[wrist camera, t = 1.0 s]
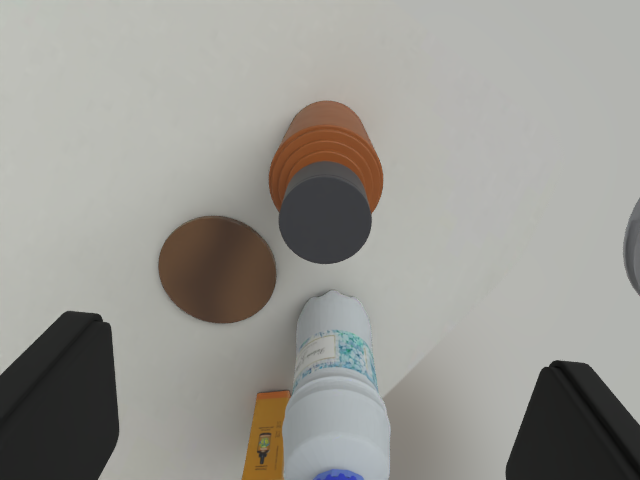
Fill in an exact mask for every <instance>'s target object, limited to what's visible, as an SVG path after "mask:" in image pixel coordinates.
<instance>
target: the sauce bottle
mask: <svg viewBox="0 0 640 480" xmlns="http://www.w3.org/2000/svg"><path fill="white" fill-rule="evenodd" d="M321 161H330V162H336V163H339V164H342V165H344V166H346V167H348V168H349V169H351V170H352V171H353V172H354V173H355V174H356V175H357V176H358V177H359V179H360V180H361V182H362V184H363V186H364V189H365V192H366V195H367V199H368V203H369V207H370V211H371V214H372V212H373V211H374V210H375V208H376V206H377V204H378V202H379V200H380V197H381V193H382V189H383V172H382V166H381V163H380V160H379V158H378V156H377V154H376V152H375V150H374V147H373V145H372V143H371V141H370V139H369V137H368V135H367V133H366V131H365V129H364V126H363V124H362V122H361V120H360V119H359V117H358V116H357V115H356V114H355V112H353V111H352V110H351V109H350V108H348V107H347V106H345V105H343V104H341V103H338V102H334V101H320V102H315V103H313V104H310V105H308V106H306V107H305V108H304V109H302V110H301V111H300V112H299V113H298V114H297V115H296V116H295V118H294V119H293V121H292V123H291V125H290V127H289V129H288V130H287V132H286V134H285V136H284V138H283V140H282V142H281V144H280V146H279V148H278V150H277V152H276V154H275V156H274V158H273V160H272V163H271V166H270V171H269V189H270V194H271V197H272V200H273V202H274V205H275V206H276V208H277V210H278V211H279V212H280V208H281V205H282V202H283V199H284V195H285V192H286V189H287V186H288V184H289V182H290V180H291V179H292V177H293V176H294V175H295V174H296V173H297V172H298V171H299V170H300V169H302V168H303V167H305V166H307V165H309V164H312V163H315V162H321Z"/></svg>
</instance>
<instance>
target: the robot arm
mask: <svg viewBox="0 0 640 480" xmlns="http://www.w3.org/2000/svg"><path fill="white" fill-rule="evenodd" d="M118 436H119V419H118V406H117V394H116V382H115V369H114V357H113V345H112V332H111V326H110V324H109V323H107V322H103V319H102V317H101V315H99V314H95V313H85V312H75V311H67V312H65V313H63V314H62V315H61V316H60V317H59V318H58V319H57V320H56V321H55V322H54V323H53V324H52V325H51V326H50V327H49V328H48V329H47V330H46V331H45V332H44V333H43V334H42V335H41V336H40V337H39V338H38V339H37V340H36V341H35V342H34V343H33V344H32V345H31V346H30V347H29V348H28V349H27V350H26V351H25V352H24V353H22V354H21V355H20V356H19V357H18V358H17V359H16V360H15V361H14V362H13V363H12V364H11V365H10V366H9V367H8V368H7V369H6V370H5V371H4V372H3V373H2V374H1V375H0V480H98V478H99V476H100V475H101V473H102V471H103V469H104V467H105V465H106V464H107V462H108V460H109V458H110V456H111V454H112V452H113V451H114V448H115V446H116V443H117V440H118ZM506 480H640V425H639V424H638V423H637V422H636V420H635V419H634V418H633V417H632V416H631V414H630V413H629V412H628V411H627V410H626V408H625V407H624V406H623V405H622V404H621V402H620V401H619V400H618V399H617V398H616V396H615V395H614V394H613V393H612V392H611V390H610V389H609V388H608V387H607V386H606V384H605V383H604V382H603V381H602V380H601V378H600V377H599V376H598V375H597V374H596V372H594V370H593V369H592V368H591V367H590V366H589V365H588V364H585V363H579V362H569V361H559V360H556V361H553V362H552V363H551V364H550V365H549V367H544V368H543V369H542V370H541V372H540V374H539V377H538V379H537V382H536V385H535V388H534V391H533V393H532V396H531V399H530V402H529V404H528V407H527V410H526V413H525V415H524V418H523V421H522V424H521V426H520V429H519V432H518V435H517V438H516V440H515V443H514V446H513V448H512V451H511V454H510V457H509V460H508V462H507V465H506Z"/></svg>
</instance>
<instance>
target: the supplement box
mask: <svg viewBox="0 0 640 480" xmlns="http://www.w3.org/2000/svg"><path fill="white" fill-rule="evenodd" d="M290 398H291V396H290V392H289V391H288V390H286V391H278V392H268V393H258V394H257V398H256V404H255V410H254V416H253V421H252V427H251V432H250V438H249V444H248V449H247V454H246V460H245V466H244V471H243V476H242V480H286V476H285V468H284V447H283V436H282V426H283V421H284V418H285V410H286V406H287V404H288V402H289V399H290Z"/></svg>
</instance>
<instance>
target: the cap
mask: <svg viewBox="0 0 640 480" xmlns="http://www.w3.org/2000/svg"><path fill="white" fill-rule="evenodd" d="M371 223H372V217H371V211H370V207H369V203H368V199H367V195H366V192H365V189H364V186H363V184H362V182H361V180H360V179H359V177H358V176H357V175H356V174H355V173H354V172H353V171H352V170H351V169H349V168H348V167H346V166H344V165H342V164H339V163H336V162H330V161H321V162H315V163H312V164H309V165H307V166H305V167H303V168H302V169H300V170H299V171H298V172H297V173H296V174H295V175H294V176H293V177H292V179H291V180H290V182H289V184H288V186H287V189H286V192H285V195H284V199H283V202H282V205H281V208H280V212H279V228H280V232H281V235H282V237H283V239H284V241H285V243H286V244H287V246H288V247H289V248H290V249H291V250H292V251H293V252H294V253H295V254H297V255H298V256H299V257H301V258H303V259H305V260H307V261H310V262H314V263H319V264H332V263H337V262H340V261H343V260H345V259H348V258H349V257H351V256H353V255H354V254H355V253H356V252H358V251H359V250H360V249H361V248H362V246H363V245H364V244H365V242H366V240H367V238H368V236H369V233H370V230H371Z"/></svg>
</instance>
